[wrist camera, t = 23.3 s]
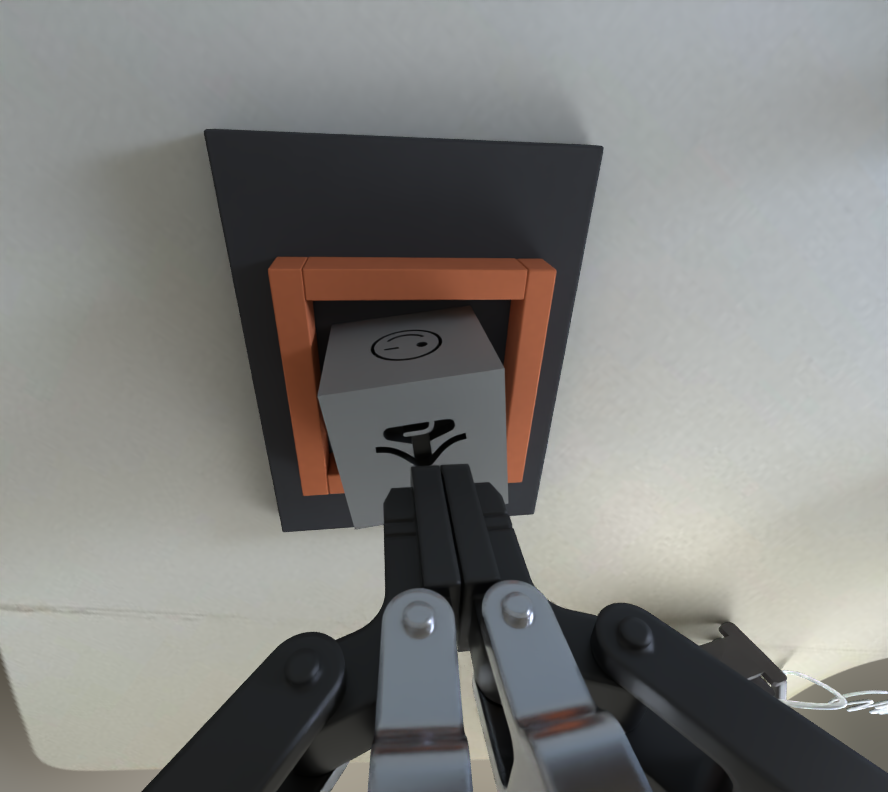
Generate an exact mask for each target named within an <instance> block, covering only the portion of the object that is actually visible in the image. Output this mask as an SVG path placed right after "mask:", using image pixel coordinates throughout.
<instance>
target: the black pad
mask: <svg viewBox="0 0 888 792" xmlns="http://www.w3.org/2000/svg"><path fill="white" fill-rule="evenodd" d="M204 136H205V141H206V146H207V151H208V156H209V161H210V166H211V171H212V176H213V181H214V186H215V191H216V196H217V202H218V207H219V212H220V217H221V222H222V227H223V232H224V237H225V242H226V247H227V252H228V257H229V262H230V267H231V272H232V278H233V283H234V288H235V293H236V298H237V303H238V308H239V313H240V318H241V323H242V328H243V333H244V338H245V343H246V348H247V353H248V359H249V364H250V369H251V374H252V379H253V384H254V389H255V394H256V399H257V404H258V409H259V414H260V419H261V424H262V429H263V435H264V440H265V445H266V450H267V455H268V460H269V465H270V470H271V475H272V480H273V485H274V490H275V495H276V500H277V505H278V510H279V516H280V521H281V526H282V531H283V532H293V531H307V530H321V529H335V528H349V527H354V525H353V521H352V517H351V514H350V510H349V507H348V503H347V500H346V496H345V493H344V489H343V485H342V482H341V478H340V475H339V471H338V468H337V464H336V461H335V457H334V453H333V450H332V446H331V443H330V439H329V436H328V432H327V429H326V425H325V421H324V418H323V414H322V411H321V407H320V404H319V400H318V397H317V396H318V391H319V386H320V381H321V376H322V371H323V366H324V361H325V356H326V351H327V346H328V341H329V336H330V331H331V326H332V325H333V324H340V323H347V322H355V321H362V320H369V319H376V318H383V317H391V316H398V315H405V314H412V313H419V312H426V311H434V310H441V309H448V308H455V307H462V306H469V305H470V306H471V308H472V309H473V311H474V313H475V315H476V317H477V319H478V320H479V322H480V324H481V326H482V328H483V330H484V331H485V333H486V335H487V337H488V339H489V341H490V342H491V344H492V346H493V348H494V350H495V352H496V353H497V355H498V357H499V359H500V361H501V363H502V365H503V366H504V368H505V402H506V438H507V473H508V504H505V505H506V508H507V511H508V515H509V516H516V515H529V514H534V511H535V505H536V500H537V495H538V490H539V485H540V479H541V474H542V469H543V464H544V458H545V453H546V448H547V443H548V437H549V432H550V427H551V422H552V416H553V411H554V406H555V401H556V395H557V390H558V385H559V380H560V375H561V369H562V364H563V359H564V354H565V348H566V343H567V338H568V333H569V327H570V322H571V317H572V312H573V306H574V301H575V296H576V291H577V286H578V280H579V275H580V270H581V265H582V259H583V254H584V249H585V244H586V238H587V233H588V228H589V223H590V217H591V212H592V207H593V202H594V197H595V191H596V186H597V181H598V176H599V170H600V165H601V160H602V155H603V147H602V146H597V145H581V144H558V143H534V142H511V141H487V140H464V139H440V138H416V137H393V136H369V135H346V134H322V133H299V132H275V131H251V130H228V129H206V130H204Z"/></svg>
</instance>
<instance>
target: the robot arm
mask: <svg viewBox="0 0 888 792" xmlns="http://www.w3.org/2000/svg"><path fill="white" fill-rule="evenodd" d="M383 512H384V555H385V598H384V603H383V605H382V607H381V609H380V611H379V613H378V614H377V615H376V616H375V618H374V619H373V620H372V621H371V622H370V623H369V624H367V625H366V626H364V627H363V628H361V629H359V630H357V631H355V632H353V633H351V634H349V635H346V636H344V637H342V638H339V639H337V640H334V639H333V638H332V637H330V636H328V635H326V634H323V633H319V632H306V633H301V634H298V635H295V636H293V637H291V638H289V639H287V640H286V641H284V642H283V643H281V644H280V645H279V646H278V647H277V648H276V649H275V650H274V651H273V652H272V653H271V654H270V655H269V656H268V657H267V658H266V659H265V661H264V662H263V663H262V664H261V665H260V666H259V667H258V668H257V669H256V670H255V671H254V672H253V673H252V674H251V675H250V677H249V678H248V679H247V680H246V681H245V682H244V683H243V684H242V685H241V686H240V687H239V688H238V689H237V690H236V691H235V693H234V694H233V695H232V696H231V697H230V698H229V699H228V700H227V701H226V702H225V703H224V704H223V705H222V706H221V707H220V709H219V710H218V711H217V712H216V713H215V714H214V715H213V716H212V717H211V718H210V719H209V720H208V721H207V722H206V723H205V724H204V726H203V727H202V728H201V729H200V730H199V731H198V732H197V733H196V734H195V735H194V736H193V737H192V738H191V739H190V740H189V742H188V743H187V744H186V745H185V746H184V747H183V748H182V749H181V750H180V751H179V752H178V753H177V754H176V755H175V756H174V758H173V759H172V760H171V761H170V762H169V763H168V764H167V765H166V766H165V767H164V768H163V769H162V770H161V771H160V772H159V774H158V775H157V776H156V777H155V778H154V779H153V780H152V781H151V782H150V783H149V784H148V785H147V786H146V787H145V788H144V790H143V791H142V792H330V791H331V790H332V788H333V787H334V785H335V784H336V782H337V781H338V779H339V777H340V776H341V774H342V773H343V771H344V770H345V768H346V767H347V765H348V763H349V761H350V760H352V759H354V758H356V757H357V756H359V755H361V754H363V753H365V752H367V751H368V750H370V749H371V756H370V768H369V782H368V792H473V786H472V774H471V763H470V754H469V746H468V741H467V737H466V735H465V733H464V726H463V716H462V703H461V691H460V679H459V666H458V654H457V647H458V652H463V651H470V653H471V659H472V664H473V670H474V671H473V679H472V688H473V693H474V697H475V701H476V705H477V709H478V713H479V718H480V722H481V726H482V730H483V734H484V738H485V742H486V746H487V750H488V754H489V758H490V762H491V766H492V770H493V774H494V779H495V783H496V787H497V791H498V792H888V773H887V772H885V771H884V770H882V769H881V768H879V767H878V766H876V765H875V764H873V763H872V762H870V761H869V760H867V759H866V758H864V757H863V756H861V755H860V754H859V753H857V752H856V751H854V750H853V749H851V748H849V747H848V746H847V745H845V744H844V743H842V742H841V741H839V740H838V739H836V738H835V737H833V736H832V735H830V734H829V733H827V732H826V731H824V730H823V729H821V728H820V727H818V726H817V725H815V724H814V723H813V722H811V721H809V720H808V719H807V718H805V717H804V716H802V715H800V714H799V713H798V712H796V711H795V710H793V709H792V708H790V707H789V706H787V705H786V704H784V703H783V702H781V701H780V700H778V699H777V698H775V697H774V696H772V695H771V694H769V693H768V692H767V691H765V690H764V689H762V688H761V687H759V686H758V685H756V684H755V683H753V682H752V681H750V680H749V679H747V678H746V677H744V676H743V675H741V674H740V673H738V672H737V671H735V670H734V669H732V668H731V667H729V666H728V665H726V664H725V663H723V662H722V661H721V660H719V659H718V658H716V657H715V656H713V655H712V654H710V653H709V652H707V651H706V650H704V649H703V648H701V647H700V646H698V645H697V644H695V643H694V642H692V641H691V640H689V639H688V638H686V637H685V636H683V635H682V634H680V633H679V632H677V631H676V630H675V629H673V628H672V627H670V626H669V625H667V624H666V623H664V622H663V621H661V620H660V619H658V618H657V617H655V616H654V615H652V614H651V613H649V612H648V611H646V610H644V609H642V608H640V607H638V606H635V605H632V604H627V603H614V604H611V605H608V606H606V607H605V608H603V609H602V610H601V611H600V613H599V615H598V616H596V615H592V614H587V613H582V612H578V611H573V610H569V609H565V608H562V607H560V606H557V605H555V604H554V603H552V602H550V601H549V600H547V599H546V597H545V596H544V595H543V594H542V593H541V592H540V591H539V590H538V589H537V588H536V587H535V586H534V584H533V583H532V580H531V578H530V575H529V572H528V569H527V566H526V564H525V561H524V558H523V555H522V552H521V549H520V546H519V543H518V540H517V537H516V534H515V532H514V529H513V528H512V523H511V520H510V517H509V515H508V511H507V508H506V505H505V502H504V500H503V497H502V495H501V494H500V493H499V492H498V491H497V490H496V488H495V487H494V486H493V485H492V484H491V483H490V482H482V483H474V480H473V477H472V473H471V470H470V466H469V464H468V463H466V464H448V465H440V468H439V465H431V466H413V467H411V469H410V487H401V488H391V490H390V492H389V493H388V495H387V497H386V499H385V501H384V503H383Z"/></svg>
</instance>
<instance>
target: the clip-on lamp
mask: <svg viewBox="0 0 888 792" xmlns="http://www.w3.org/2000/svg"><path fill="white" fill-rule="evenodd" d="M719 631H720V633H721V634H722V635H723V636H724V638H718V639H715V640H713V641H712V642H709V643H706V644H703V645H700V647H701V648H703V649H704V650H706V651H707V652H709V653H710V654H712V655H713V656H715V657H716V658H718V659H719V660H721V661H722V662H723V663H725V664H726V665H728V666H729V667H731V668H732V669H734V670H735V671H737V672H738V673H740V674H741V675H743V676H744V677H746V678H747V679H749V680H750V681H752V682H753V683H755V684H756V685H758V686H759V687H761V688H762V689H764V690H765V691H767V692H768V693H769V694H771V695H772V696H774V697H775V698H777V699H778V700H780V701H781V702H783V703H784V704H786V705H787V706H789V707H797V708H807V709H823V710H830V709H840V708H843V707H846V704H847V701H846V699H845V698H844V697H843V696H842V695H841V694H840V693H838V692H837V691H835V690H834V689H832V688H831V687H829V686H828V685H826V684H824V683H822V682H820V681H818V680H816V679H814V678H812V677H810V676H807V675H805V674H802V673H799V672H795V671H788V670H783V671H781V670H780V669H779V668H778V667H777V666H776V665H775V664H774V663H773V662H772V661H771V660H770V659H769V658H768V657H767V656H766V655H765V654H764V653H763V652H762V651H761V650H760V649H759V648H758V647H757V646H756V645H755V644H754V643H753V642H752V641H751V640H750V639H749V638H748V637H747V636H746V635H745V634H744V633H743V632H742V631H741V630H740V629H739V628H738V627H737V626H736V625H735V624H733V623H731V622H727V623H724V624H722V625H721V626H720V627H719ZM786 674H794V675H797V676H800V677H802V678H805V679H808V680H810V681H812V682H814V683H816V684H818V685H820V686H822V687H823V688H825V689H826V690H828V691H830V692H831V693H833V694H834V695H835V696H836V697H837V698H839V702H836V703H828V704H827V703H826V704H825V703H822V704H821V703H808V702H797V701H789V700H786V690H787V681H786V680H787V677H786ZM761 675H762V676H763V677H764V678H765V679H766V681H767V682H768V683H769V684H771V687H770V686H769V685H768V684H767V683H766V682H765V681H764V680H763V679H762V677H761Z"/></svg>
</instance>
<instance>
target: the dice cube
mask: <svg viewBox="0 0 888 792" xmlns="http://www.w3.org/2000/svg"><path fill="white" fill-rule="evenodd" d="M317 397H318V400H319V404H320V407H321V411H322V414H323V418H324V421H325V425H326V429H327V432H328V436H329V439H330V443H331V446H332V450H333V453H334V457H335V461H336V464H337V468H338V471H339V475H340V478H341V482H342V485H343V489H344V493H345V496H346V500H347V503H348V507H349V510H350V514H351V517H352V521H353V525H354V528H355V529H361V528H367V527H373V526H379V525H384V512H383V503H384V501H385V499H386V497H387V495H388V493H389V492H390V490H391V488H401V487H410V469H411V467H413V466H431V465H439V468H440V465H448V464H466V463H468V464H469V466H470V470H471V473H472V477H473V480H474V483H482V482H490V483H491V484H492V485H493V486H494V487H495V488H496V490H497V491H498V492H499V493H500V494H501V495H502V497H503V500H504V502H505V504H508V473H507V438H506V402H505V368H504V366H503V365H502V363H501V361H500V359H499V357H498V355H497V353H496V352H495V350H494V348H493V346H492V344H491V342H490V341H489V339H488V337H487V335H486V333H485V331H484V330H483V328H482V326H481V324H480V322H479V320H478V319H477V317H476V315H475V313H474V311H473V309H472V308H471V306H470V305H469V306H462V307H455V308H448V309H441V310H434V311H426V312H419V313H412V314H405V315H398V316H391V317H383V318H376V319H369V320H362V321H355V322H347V323H340V324H333V325H332V326H331V331H330V336H329V341H328V346H327V351H326V356H325V361H324V366H323V371H322V376H321V381H320V386H319V391H318V396H317Z"/></svg>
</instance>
